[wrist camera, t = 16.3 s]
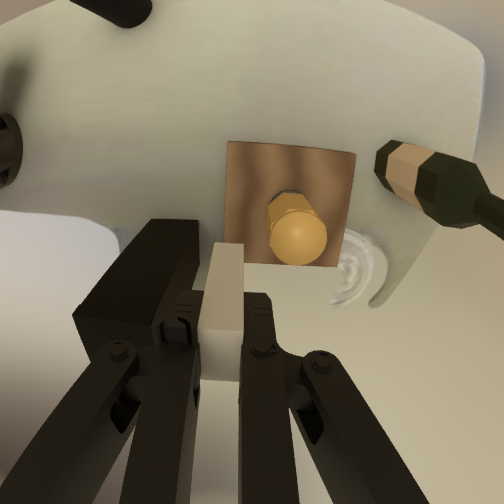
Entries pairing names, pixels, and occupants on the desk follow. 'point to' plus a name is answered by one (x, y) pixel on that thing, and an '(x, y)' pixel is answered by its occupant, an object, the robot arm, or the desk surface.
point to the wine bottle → (119, 10)
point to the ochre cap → (295, 229)
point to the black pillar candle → (140, 286)
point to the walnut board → (279, 179)
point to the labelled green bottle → (440, 186)
